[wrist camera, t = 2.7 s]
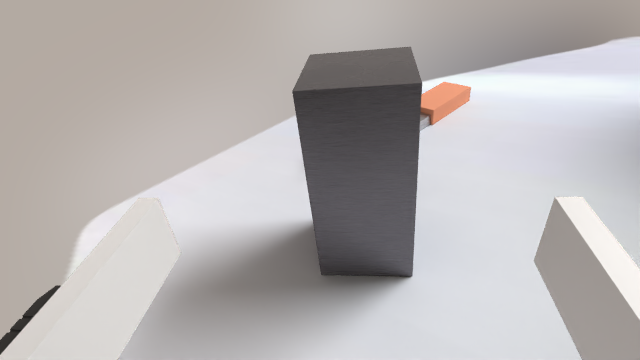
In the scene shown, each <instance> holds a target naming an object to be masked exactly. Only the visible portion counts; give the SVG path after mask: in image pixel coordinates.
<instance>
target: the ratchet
mask: <svg viewBox="0 0 640 360" xmlns="http://www.w3.org/2000/svg"><path fill="white" fill-rule="evenodd" d="M470 90H471V87H468V86H463V85H458V84H452V83H447V82H443V83H441V84H439V85H438V86H436V87H434V88H432V89H431V90H429V91H427V92H425V93H424V94H422V95H421V114H420V131H421V130H422V129H424V128H425V127H427V126H428V125H430V124H432V125H433V124H435V123H436V122H438V121H439V120H441V119H442V118H444V117H445V116H447V115H448V114H450V113H451V112H453V111H454V110H456V109H457V108H459V107H460V106H462V105H463V104H465V103H466V102H468V101H469V97H470Z"/></svg>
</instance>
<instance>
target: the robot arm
mask: <svg viewBox="0 0 640 360" xmlns="http://www.w3.org/2000/svg"><path fill="white" fill-rule="evenodd" d="M180 255H181V250H180V248H179V246H178V243H177V241H176V239H175V236H174V234H173V231H172V229H171V227H170V224H169V222H168V220H167V217H166V215H165V213H164V210H163V208H162V206H161V203H160V201H159V198H138V200H137V201H136V202H135V203H134V204H133V205H132V206H131V207H130V209H129V210H128V211H127V212H126V213H125V214H124V215H123V216H122V218H121V219H120V220H119V221H118V222H117V223H116V224H115V226H114V227H113V228H112V229H111V230H110V231H109V232H108V233H107V235H106V236H105V237H104V238H103V239H102V240H101V241H100V243H99V244H98V245H97V246H96V247H95V248H94V249H93V250H92V252H91V253H90V254H89V255H88V256H87V257H86V258H85V260H84V261H83V262H82V263H81V264H80V265H79V266H78V267H77V269H76V270H75V271H74V272H73V273H72V274H71V275H70V276H69V278H68V279H67V280H66V281H65V282H64V283H63V284H62V286H55V287H54V288H53V289H51V290H50V291H48V292H47V293H46V294H44V295H43V296H41V297H40V298H39V299H37V301H36V302H35V303H34V304H33V305H32V306H31V307H30V308H29V309H28V310H27V311H26V313H25V314H24V315H23V318H22V319H19V320H18V321H17V322H16V323H15V325H14V326H13V327H12V328H11V329H10V332H9V333H6V335H5V336H4V337H3V338H2V339H1V340H0V360H118V358H119V357H120V355H121V353H122V352H123V350H124V348H125V347H126V345H127V343H128V342H129V340H130V338H131V337H132V335H133V333H134V332H135V330H136V328H137V327H138V325H139V323H140V322H141V320H142V318H143V317H144V315H145V313H146V312H147V310H148V308H149V307H150V305H151V303H152V302H153V300H154V298H155V297H156V295H157V293H158V292H159V290H160V288H161V287H162V285H163V283H164V282H165V280H166V278H167V276H168V275H169V273H170V271H171V270H172V268H173V266H174V265H175V263H176V261H177V260H178V258H179V256H180ZM534 262H535V264H536V266H537V268H538V270H539V272H540V274H541V276H542V278H543V281H544V283H545V285H546V287H547V289H548V291H549V293H550V295H551V297H552V299H553V301H554V303H555V305H556V307H557V309H558V311H559V313H560V315H561V317H562V319H563V321H564V323H565V325H566V327H567V329H568V332H569V334H570V336H571V338H572V340H573V342H574V344H575V346H576V348H577V350H578V352H579V354H580V356H581V358H582V360H640V269H639V267H638V266H637V265H636V264H635V262H634V261H633V260H632V259H631V257H630V256H629V255H628V254H627V252H626V251H625V250H624V248H623V247H622V246H621V245H620V243H619V242H618V241H617V240H616V238H615V237H614V236H613V235H612V233H611V232H610V231H609V230H608V228H607V227H606V226H605V225H604V223H603V222H602V221H601V219H600V218H599V217H598V216H597V214H596V213H595V212H594V211H593V209H592V208H591V207H590V206H589V204H588V203H587V202H586V201H585V199H584V198H583V197H555V198H554V201H553V204H552V207H551V210H550V213H549V216H548V219H547V222H546V225H545V228H544V231H543V235H542V238H541V241H540V244H539V247H538V250H537V253H536V256H535V259H534Z"/></svg>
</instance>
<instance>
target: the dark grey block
mask: <svg viewBox="0 0 640 360" xmlns="http://www.w3.org/2000/svg"><path fill="white" fill-rule="evenodd" d="M421 94H422V81H421V78H420V75H419V72H418V69H417V65H416V62H415V59H414V56H413V53H412V50H411V47H402V48H390V49H377V50H365V51H353V52H339V53H326V54H314V55H310V56H309V58H308V60H307V62H306V64H305V66H304V68H303V70H302V73H301V75H300V77H299V79H298V81H297V83H296V85H295V87H294V89H293V98H294V104H295V111H296V117H297V123H298V130H299V136H300V142H301V148H302V155H303V161H304V167H305V174H306V180H307V186H308V193H309V199H310V205H311V212H312V218H313V224H314V231H315V237H316V243H317V249H318V256H319V262H320V268H321V275H368V276H412V272H413V252H414V232H415V213H416V193H417V173H418V153H419V134H420V114H421Z"/></svg>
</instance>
